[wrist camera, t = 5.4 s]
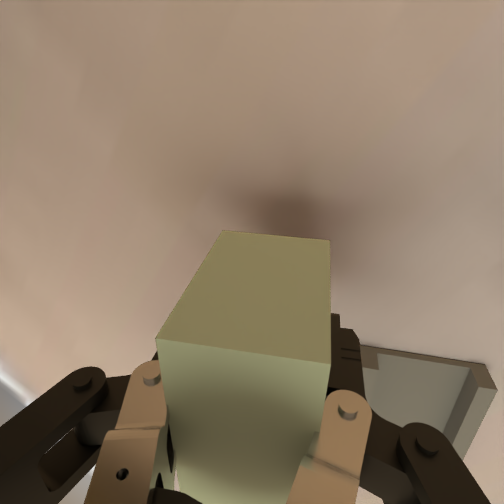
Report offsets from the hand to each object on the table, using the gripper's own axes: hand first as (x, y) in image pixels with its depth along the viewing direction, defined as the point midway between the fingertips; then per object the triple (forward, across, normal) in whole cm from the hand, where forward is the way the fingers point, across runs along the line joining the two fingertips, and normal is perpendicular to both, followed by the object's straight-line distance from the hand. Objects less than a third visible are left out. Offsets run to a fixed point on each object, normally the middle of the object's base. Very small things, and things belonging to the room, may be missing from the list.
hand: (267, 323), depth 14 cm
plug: (+1, 0, 0) cm, 1 cm away
